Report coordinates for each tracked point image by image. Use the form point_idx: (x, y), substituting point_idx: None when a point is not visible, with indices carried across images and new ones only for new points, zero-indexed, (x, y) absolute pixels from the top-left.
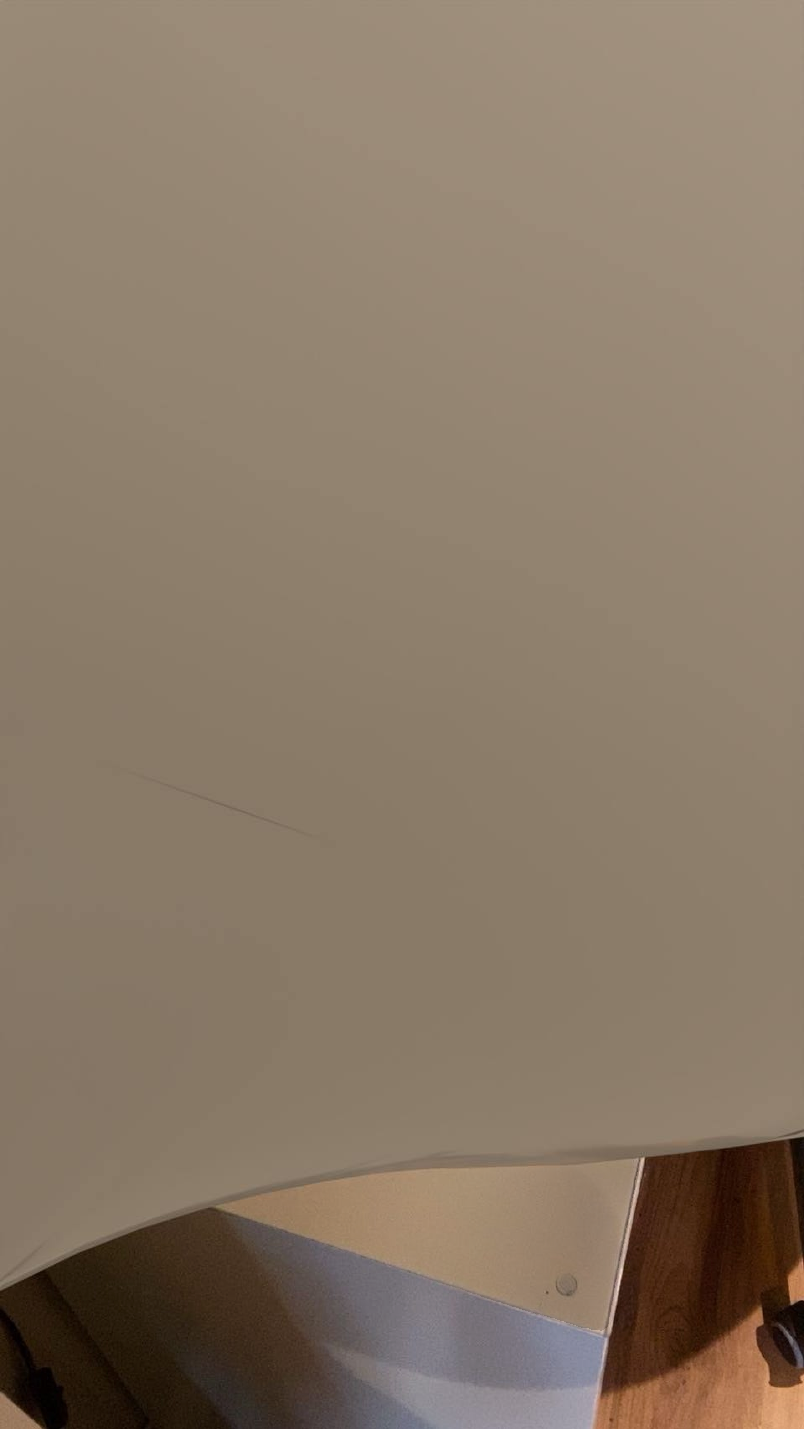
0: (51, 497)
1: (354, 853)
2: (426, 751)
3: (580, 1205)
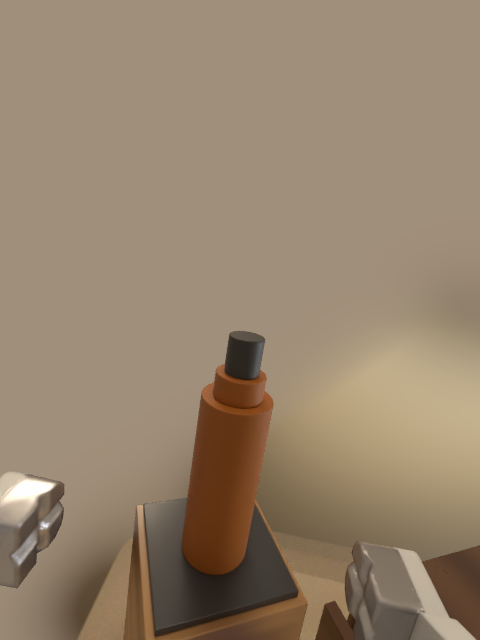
0: None
1: None
2: None
3: None
